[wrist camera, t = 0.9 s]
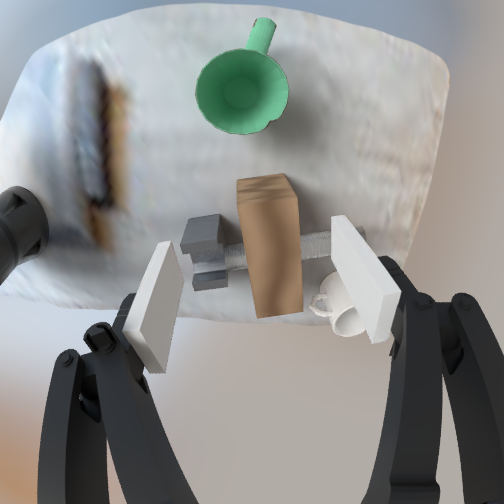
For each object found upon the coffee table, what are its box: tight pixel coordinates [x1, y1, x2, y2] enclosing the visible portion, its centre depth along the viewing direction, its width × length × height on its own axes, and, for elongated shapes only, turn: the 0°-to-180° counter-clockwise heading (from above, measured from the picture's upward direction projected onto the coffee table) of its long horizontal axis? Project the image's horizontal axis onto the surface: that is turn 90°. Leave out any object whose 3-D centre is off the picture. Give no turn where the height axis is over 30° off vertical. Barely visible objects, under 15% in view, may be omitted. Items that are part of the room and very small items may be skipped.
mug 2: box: [309, 271, 366, 337], centre depth 48 cm, size 8×12×10 cm
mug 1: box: [195, 18, 289, 135], centre depth 29 cm, size 15×10×10 cm
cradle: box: [180, 214, 228, 291], centre depth 42 cm, size 5×8×8 cm, turn 8°
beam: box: [237, 173, 303, 318], centre depth 41 cm, size 7×18×10 cm, turn 8°
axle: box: [224, 226, 366, 271], centre depth 39 cm, size 20×4×4 cm, turn 98°
